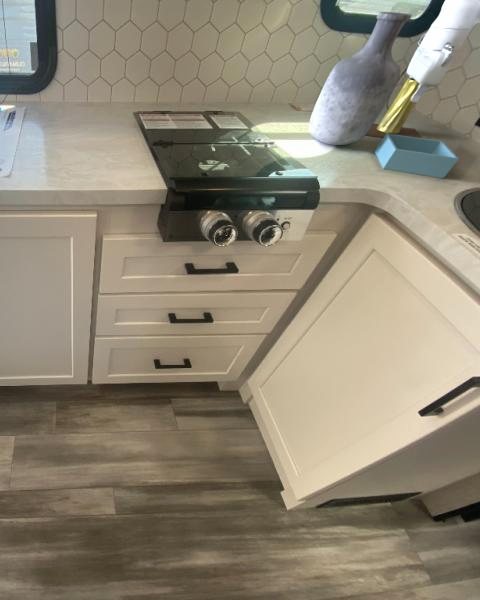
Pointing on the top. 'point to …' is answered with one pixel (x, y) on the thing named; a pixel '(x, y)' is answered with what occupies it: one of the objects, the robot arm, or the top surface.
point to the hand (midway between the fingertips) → (409, 97)
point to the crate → (415, 155)
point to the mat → (403, 132)
